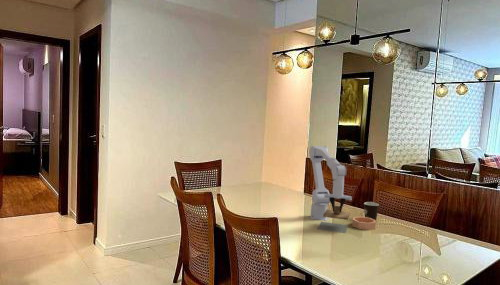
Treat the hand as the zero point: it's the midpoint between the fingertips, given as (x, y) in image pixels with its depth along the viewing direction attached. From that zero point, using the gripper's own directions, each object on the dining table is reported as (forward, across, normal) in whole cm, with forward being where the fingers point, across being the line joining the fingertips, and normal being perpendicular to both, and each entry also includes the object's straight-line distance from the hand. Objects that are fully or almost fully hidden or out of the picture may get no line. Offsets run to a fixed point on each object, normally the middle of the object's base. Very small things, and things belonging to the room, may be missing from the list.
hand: (337, 211), depth 197 cm
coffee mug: (+9, +17, +26) cm, 33 cm away
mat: (+9, -2, -1) cm, 9 cm away
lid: (+2, 0, 0) cm, 2 cm away
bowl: (+9, +14, +9) cm, 19 cm away
